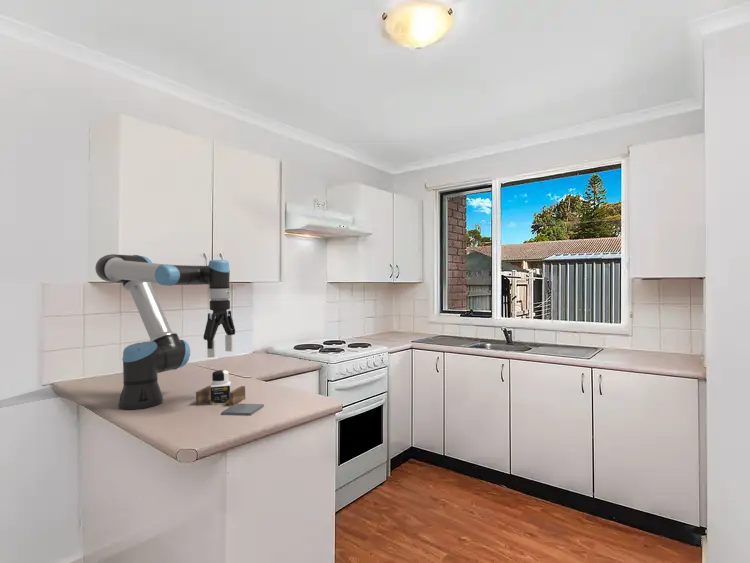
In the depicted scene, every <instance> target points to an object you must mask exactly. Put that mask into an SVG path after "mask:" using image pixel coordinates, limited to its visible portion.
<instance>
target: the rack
mask: <svg viewBox="0 0 750 563" xmlns="http://www.w3.org/2000/svg"><path fill="white" fill-rule="evenodd" d="M210 386H211V385H208V386H205V387H204V388H201V389H199V390H197V391H195V405H196V406H201V405H203V404H205V403H206V402H208V401H211V395H210ZM244 400H246V386H245V385H241V386H238V387H237V388H235V389H233V390H231V392H229V403H228V406H229V407H231V406H233V405H234V404H236V403H238V404H240V402H243V401H244Z"/></svg>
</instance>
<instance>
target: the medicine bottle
mask: <svg viewBox="0 0 750 563" xmlns="http://www.w3.org/2000/svg"><path fill="white" fill-rule="evenodd" d="M229 373H230V372H229V371H228V370H226V369H221V370H215V371H213V372H212V374H211V375H212V377H211V378H212V382H211V386H210V385H209V386H210V395H211V400H210V405H211V406H213V405H224V404H229V392H231V391H232V382H231V380H230V375H229Z"/></svg>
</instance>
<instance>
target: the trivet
mask: <svg viewBox="0 0 750 563" xmlns="http://www.w3.org/2000/svg"><path fill="white" fill-rule="evenodd" d="M264 406H265V404H264V403H236V404H234V405H233V406H229V407H228V408H226V409H224V410H222V411H221V412H220V414H221V416H222V415H223V416H224V415H226V416H252V415H254V413H257V412H258V411H259V410H261V409H262V408H264Z"/></svg>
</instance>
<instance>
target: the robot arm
mask: <svg viewBox="0 0 750 563" xmlns="http://www.w3.org/2000/svg"><path fill="white" fill-rule="evenodd" d="M94 267H95V268H94V269H95V273H96V275H97V276H98V277H99V279H101V280H103V281H104V282H109V283H122V286H123V288H124V290H125V291H127V292H130V295H131V297H132V299H133V301H134V304H135V306H136V309H137V311H138V314H139V316H140V318H141V321H142V324H143V325H144V327H145V330H146V332H147V336H148V337H149V341H142V342H136V343H132V344H129V345H127V346H126V347H124V349H123V351H122V358H121V360H122V366H123V367H122V370H123V371H122V373H123V374H122V375H123V376H122V377H123V378H122V379H123V386H122V390H121V394H120V396H119V399H118V408H119V409H120V410H121V409H122V410H139V409H146V408H152V407H155V406H157V405H160V404H162V403H163V401H164V396H163V393H162V391H161V387H160V384H159V383H158V374H160V373H164V372H167V371H172V370H173V371H174V370H178V369H180V368H183V367H184V366H186V364H188V362H189V361H190V356H191V348H190V345H189V343H188V342H187V341H186V340H185V339H180V337H179V336H178V333H176V332H174V331H172V329H171V327H170V324H169V322H168V320H167V318H166V316H165V312H164V310H163V309H162V306H161V304H160V301H159V299H158V297H157V295H156V292H155V290H154V288H153V286H152V284H159V285H160V286H161V285H162V286H169V287H171V286H190V285H191V286H198V285H199V286H201V285H203V286H205V285H209V287H208V289H209V290H208V291H209V292H208V294H209V296H208V297H209V298H208V299H209V310H210V311H212V312H209V313H208V314H207V320H206V325H205V329H204V334H203V341H206V344H207V346H206V348H207V351H206V352H207V358H215V357H216V340H215V336H216V334H217V331H218V329H219V326H222V328H223V330H224V332H225V334H226V335H224V336H225V338H224V346H225V352H233V351H234V349H233V346H234V345H233V336H235V334H236V328H235V324H234V320H233V317H232V311H231V310H230V309H231V300H229V299H230V297H231V296H230V294H231V290H230V288H231V287H230V272H231V271H230V263H229V260H225V259H211V260H209V261H208V264H207V265H189V264H188V265H187V264H186V265H185V264H184V265H182V264H180V265H179V264H167V263H166V264H165V263H156V262H153V261H152V260H151V259H149V257H147V256H145V255H144V256H143V255H139V254H134V255H133V254H132V255H131V254H130V255H129V254H115V253H114V254H113V253H111V254H105V255H103V256H101V257H100V258H99V259H98V260H97V262H96V264H95V266H94Z"/></svg>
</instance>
